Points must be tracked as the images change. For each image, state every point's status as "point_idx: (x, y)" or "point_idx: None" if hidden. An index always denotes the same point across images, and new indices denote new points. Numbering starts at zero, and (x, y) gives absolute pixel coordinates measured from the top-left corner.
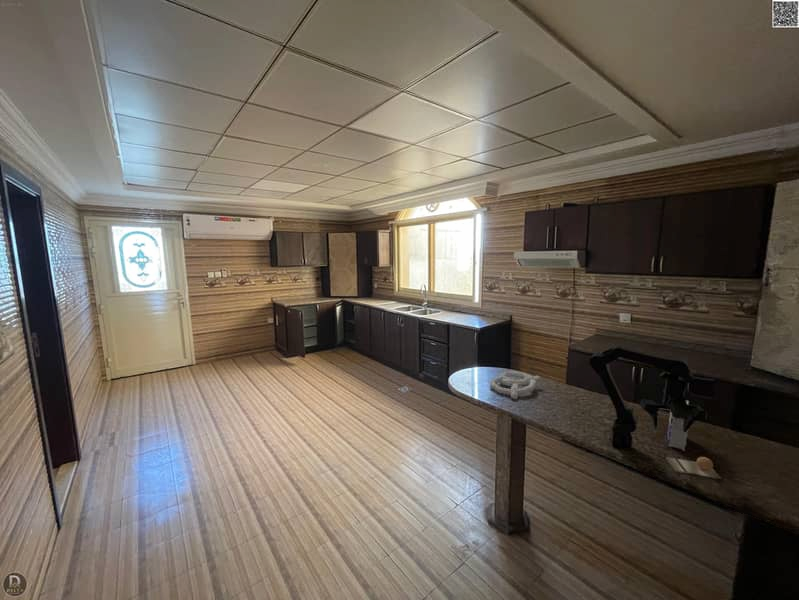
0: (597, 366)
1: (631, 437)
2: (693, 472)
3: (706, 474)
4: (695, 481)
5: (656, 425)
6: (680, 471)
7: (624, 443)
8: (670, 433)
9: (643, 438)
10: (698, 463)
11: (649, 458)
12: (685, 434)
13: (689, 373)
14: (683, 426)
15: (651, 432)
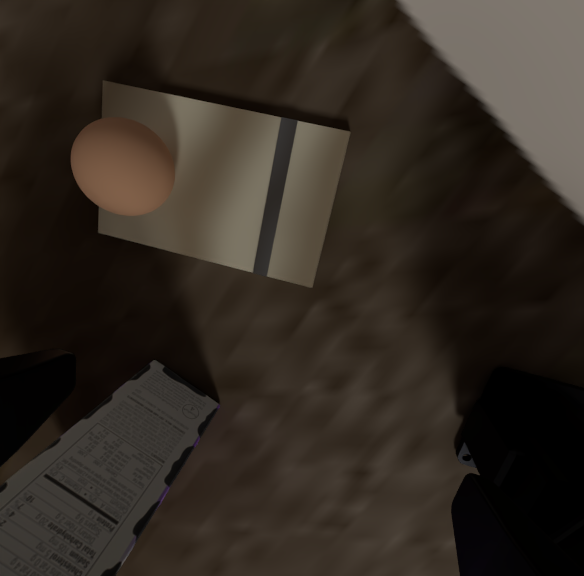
0: None
1: (520, 450)
2: (243, 117)
3: (171, 108)
4: (286, 26)
5: (511, 525)
6: (322, 127)
7: (564, 408)
8: (171, 470)
9: (312, 477)
10: (168, 164)
11: (430, 278)
12: (76, 438)
13: None
14: (5, 450)
15: (228, 522)
